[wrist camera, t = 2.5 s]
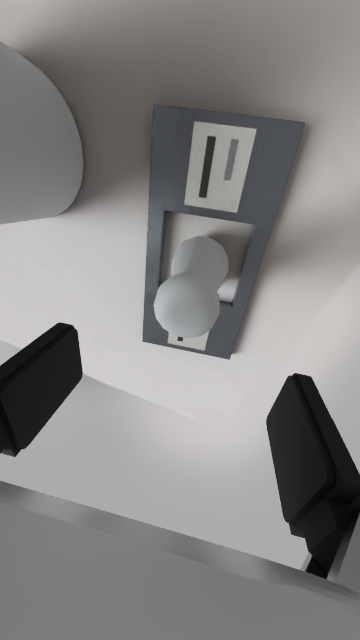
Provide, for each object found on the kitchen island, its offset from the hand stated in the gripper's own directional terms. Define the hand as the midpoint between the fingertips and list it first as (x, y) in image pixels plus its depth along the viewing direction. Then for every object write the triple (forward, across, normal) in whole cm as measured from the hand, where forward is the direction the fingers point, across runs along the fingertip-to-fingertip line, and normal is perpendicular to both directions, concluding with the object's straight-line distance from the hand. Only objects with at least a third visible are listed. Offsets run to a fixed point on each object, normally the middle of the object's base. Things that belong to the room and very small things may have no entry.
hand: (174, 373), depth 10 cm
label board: (+17, 0, -1) cm, 17 cm away
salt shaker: (+18, 0, -1) cm, 18 cm away
